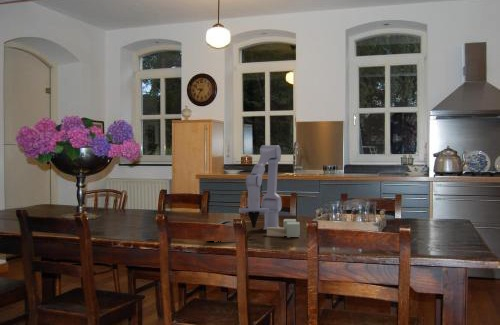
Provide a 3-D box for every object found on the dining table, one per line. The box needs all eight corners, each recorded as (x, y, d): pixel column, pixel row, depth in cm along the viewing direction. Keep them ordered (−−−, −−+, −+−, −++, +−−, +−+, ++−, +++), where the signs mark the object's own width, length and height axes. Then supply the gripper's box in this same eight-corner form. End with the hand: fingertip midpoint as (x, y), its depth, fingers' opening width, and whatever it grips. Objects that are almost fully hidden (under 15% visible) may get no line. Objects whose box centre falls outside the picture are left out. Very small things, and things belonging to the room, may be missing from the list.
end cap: (287, 234, 237) (287, 221, 237) (299, 234, 237) (299, 221, 237) (286, 237, 229) (286, 224, 229) (299, 237, 229) (299, 224, 229)
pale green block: (284, 231, 248) (284, 218, 247) (295, 231, 247) (295, 219, 247) (283, 233, 240) (283, 221, 239) (295, 234, 239) (295, 221, 239)
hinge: (224, 236, 232) (230, 217, 230) (232, 240, 230) (238, 221, 228) (205, 242, 217) (212, 221, 215) (214, 246, 215) (220, 226, 213)
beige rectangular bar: (267, 235, 237) (267, 227, 237) (296, 235, 236) (296, 227, 235) (266, 236, 233) (266, 228, 233) (296, 237, 232) (296, 228, 232)
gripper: (237, 200, 232) (238, 228, 232) (268, 200, 230) (268, 228, 231) (239, 198, 239) (240, 226, 239) (269, 198, 237) (269, 226, 238)
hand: (254, 227), depth 235 cm, fingers closed
